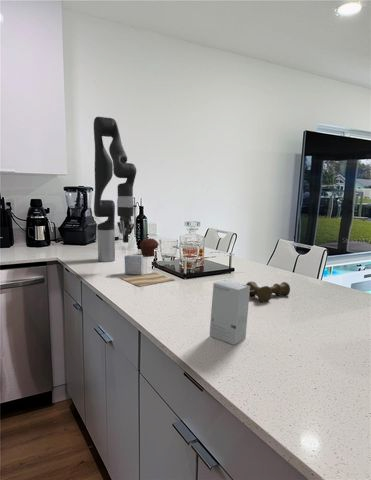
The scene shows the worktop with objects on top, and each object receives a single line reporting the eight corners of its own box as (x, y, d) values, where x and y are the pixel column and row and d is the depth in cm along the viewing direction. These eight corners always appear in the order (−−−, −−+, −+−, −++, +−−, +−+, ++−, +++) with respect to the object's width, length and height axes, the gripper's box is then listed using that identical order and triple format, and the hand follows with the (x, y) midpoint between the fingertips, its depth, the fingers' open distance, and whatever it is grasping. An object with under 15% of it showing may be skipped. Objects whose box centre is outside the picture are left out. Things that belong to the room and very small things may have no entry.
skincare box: (209, 336, 88) (210, 282, 86) (221, 329, 93) (223, 278, 91) (236, 346, 83) (238, 289, 81) (248, 338, 88) (250, 284, 85)
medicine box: (143, 272, 156) (143, 254, 155) (141, 274, 151) (141, 256, 150) (127, 272, 156) (126, 254, 155) (124, 274, 152) (124, 256, 151)
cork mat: (120, 278, 145) (120, 277, 145) (154, 272, 157) (154, 272, 157) (139, 287, 133) (139, 286, 133) (175, 280, 144) (175, 279, 144)
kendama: (295, 299, 123) (250, 304, 114) (277, 292, 131) (235, 297, 123) (296, 283, 122) (251, 287, 114) (278, 278, 131) (236, 281, 122)
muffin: (143, 257, 193) (143, 240, 192) (136, 254, 202) (136, 238, 201) (162, 255, 199) (162, 239, 198) (154, 252, 208) (154, 237, 207)
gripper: (111, 205, 158) (112, 241, 161) (124, 206, 148) (125, 244, 150) (125, 205, 163) (126, 240, 165) (139, 206, 153) (139, 243, 155)
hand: (125, 242), depth 158 cm, fingers closed
